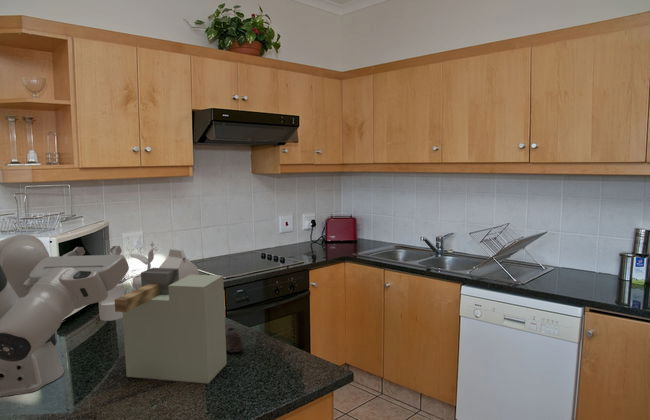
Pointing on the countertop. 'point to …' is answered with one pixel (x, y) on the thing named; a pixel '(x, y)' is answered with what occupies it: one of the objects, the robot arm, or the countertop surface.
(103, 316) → the cylinder with rectangular tab
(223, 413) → the countertop surface
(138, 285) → the potted plant
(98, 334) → the countertop surface
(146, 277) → the mallet
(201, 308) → the block
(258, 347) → the countertop surface
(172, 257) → the milk
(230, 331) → the perforated stone tool
